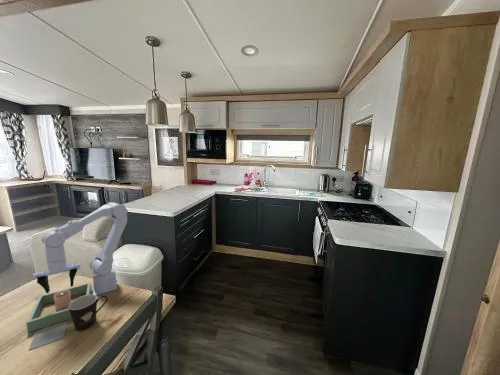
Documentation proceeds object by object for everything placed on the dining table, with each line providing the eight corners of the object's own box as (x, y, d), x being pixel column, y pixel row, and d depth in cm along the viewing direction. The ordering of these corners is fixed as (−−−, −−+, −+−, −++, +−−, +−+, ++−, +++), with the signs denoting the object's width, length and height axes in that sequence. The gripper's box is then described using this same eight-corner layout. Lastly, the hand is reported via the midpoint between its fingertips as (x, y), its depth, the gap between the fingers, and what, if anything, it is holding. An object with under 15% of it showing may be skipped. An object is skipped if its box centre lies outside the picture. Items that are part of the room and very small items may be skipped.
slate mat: (67, 321, 82) (67, 320, 82) (63, 337, 74) (63, 337, 74) (36, 331, 77) (36, 331, 77) (28, 350, 69) (28, 350, 69)
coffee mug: (68, 337, 75) (65, 313, 73) (75, 320, 82) (72, 298, 81) (106, 325, 80) (104, 302, 79) (109, 311, 88) (107, 290, 86)
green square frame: (91, 289, 101) (90, 282, 101) (88, 312, 87) (87, 303, 86) (40, 303, 91) (39, 295, 90) (27, 332, 76) (26, 322, 76)
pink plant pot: (72, 302, 92) (70, 288, 91) (71, 309, 88) (69, 294, 87) (57, 306, 89) (55, 292, 88) (54, 314, 85) (52, 299, 84)
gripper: (79, 251, 93) (82, 278, 95) (34, 260, 84) (39, 289, 86) (78, 257, 87) (81, 286, 89) (29, 267, 79) (34, 299, 81)
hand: (60, 288), depth 87 cm, fingers open, 7 cm apart
